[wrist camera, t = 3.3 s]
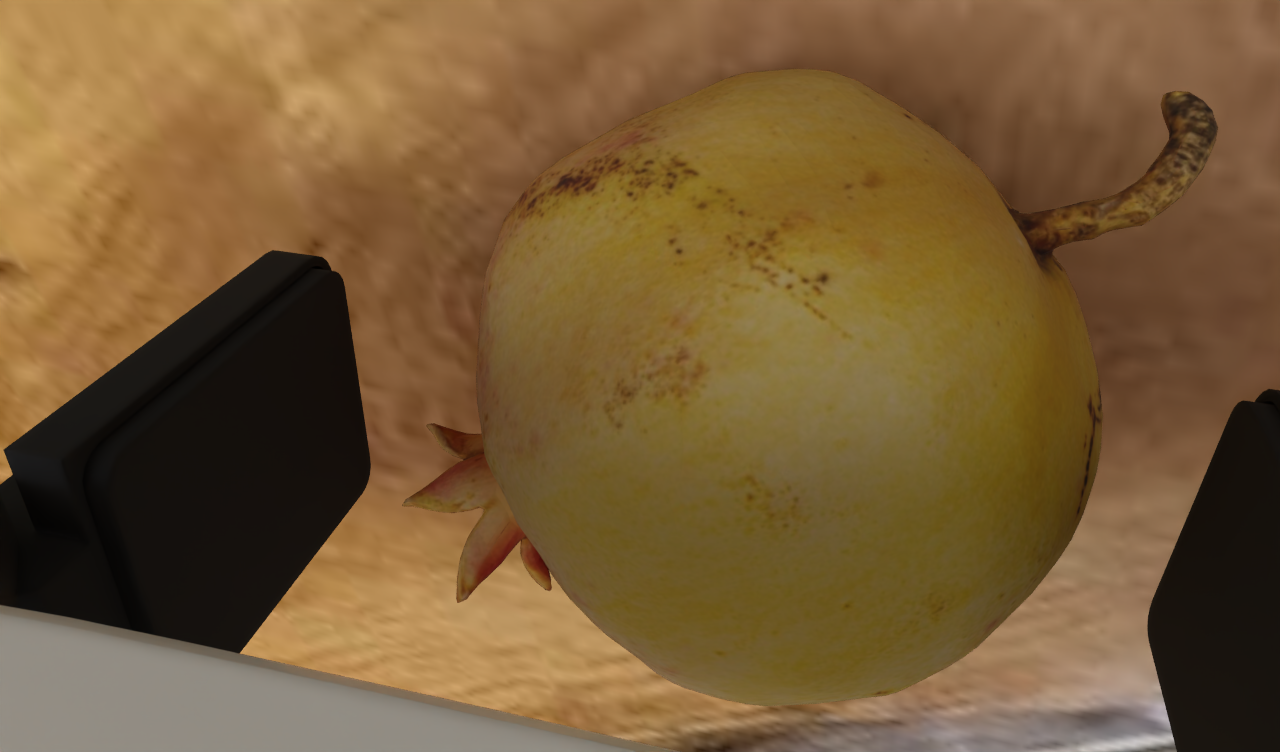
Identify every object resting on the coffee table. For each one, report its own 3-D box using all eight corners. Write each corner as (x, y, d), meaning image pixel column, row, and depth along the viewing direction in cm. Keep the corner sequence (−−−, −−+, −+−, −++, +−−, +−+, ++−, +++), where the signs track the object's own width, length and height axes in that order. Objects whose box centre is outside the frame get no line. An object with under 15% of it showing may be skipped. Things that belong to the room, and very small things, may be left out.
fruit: (1148, -268, 6) (119, 375, 10) (1576, 765, 6) (439, 934, 11) (1090, -101, 12) (464, 252, 16) (1311, 414, 12) (655, 616, 17)
